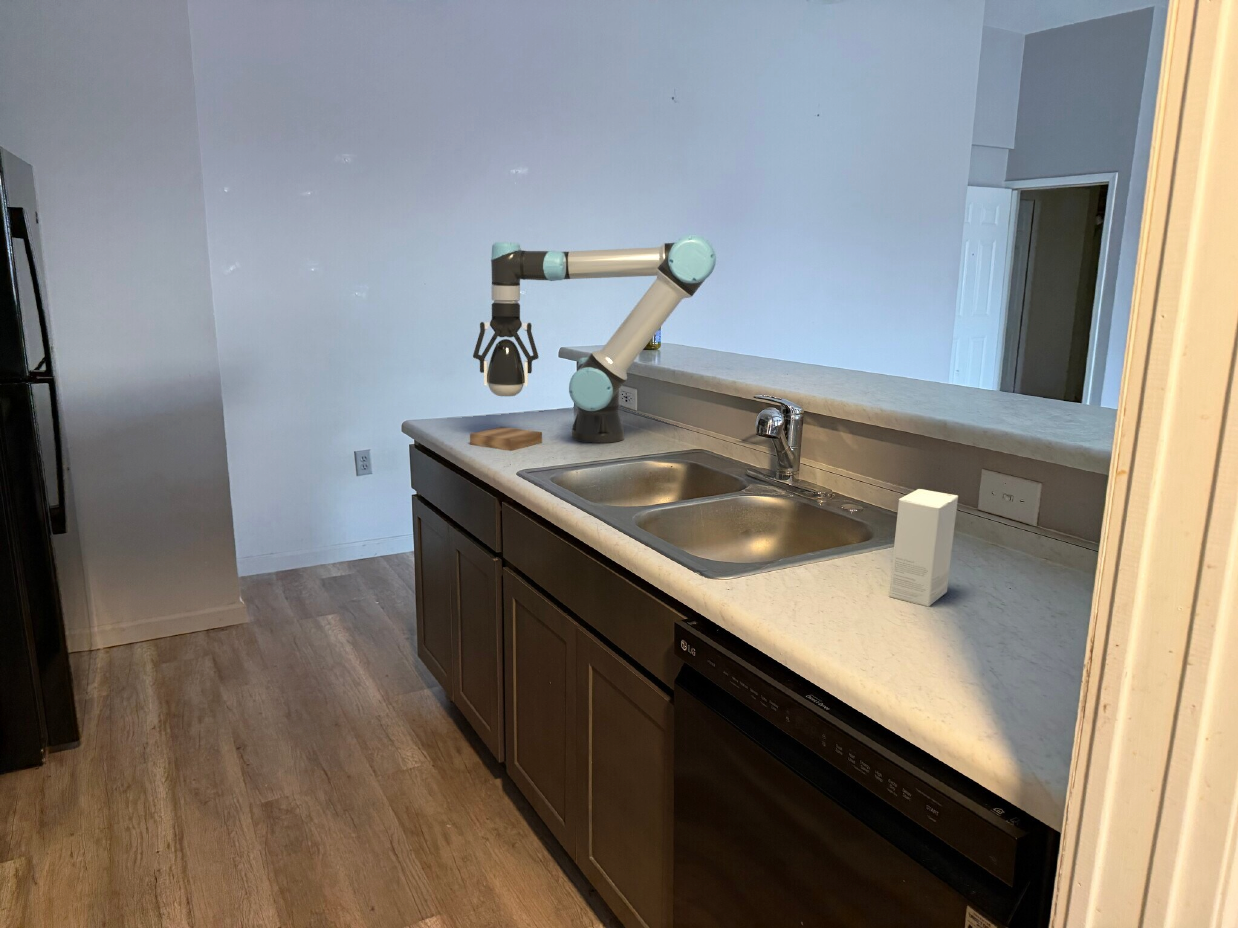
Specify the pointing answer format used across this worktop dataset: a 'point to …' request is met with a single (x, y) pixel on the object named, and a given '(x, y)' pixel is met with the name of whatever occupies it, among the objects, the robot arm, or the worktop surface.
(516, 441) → the walnut stand
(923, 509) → the skincare box
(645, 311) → the robot arm
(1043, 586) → the worktop surface
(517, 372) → the glossy black egg shape
